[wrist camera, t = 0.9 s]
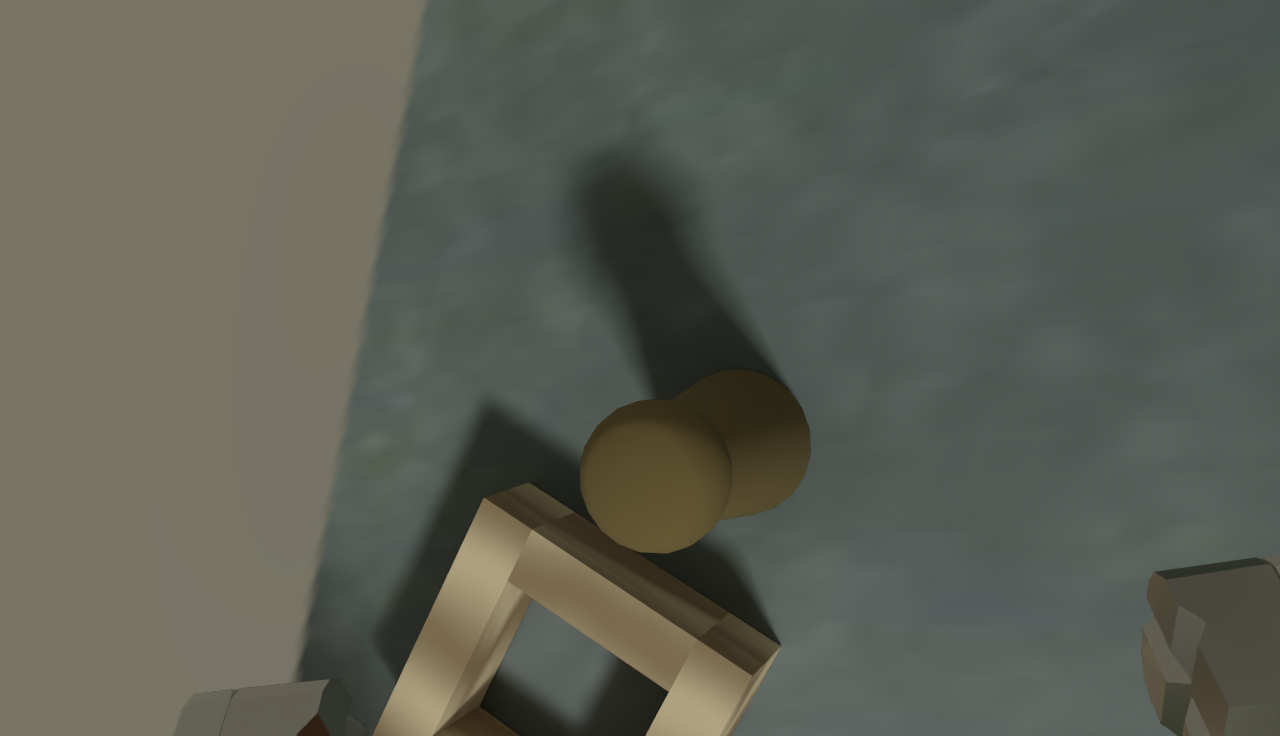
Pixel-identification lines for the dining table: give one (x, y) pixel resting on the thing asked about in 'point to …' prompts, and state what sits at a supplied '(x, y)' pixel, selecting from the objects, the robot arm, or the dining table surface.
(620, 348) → the dining table surface
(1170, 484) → the dining table surface
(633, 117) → the dining table surface
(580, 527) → the socket block
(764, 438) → the cork
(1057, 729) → the dining table surface
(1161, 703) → the robot arm
